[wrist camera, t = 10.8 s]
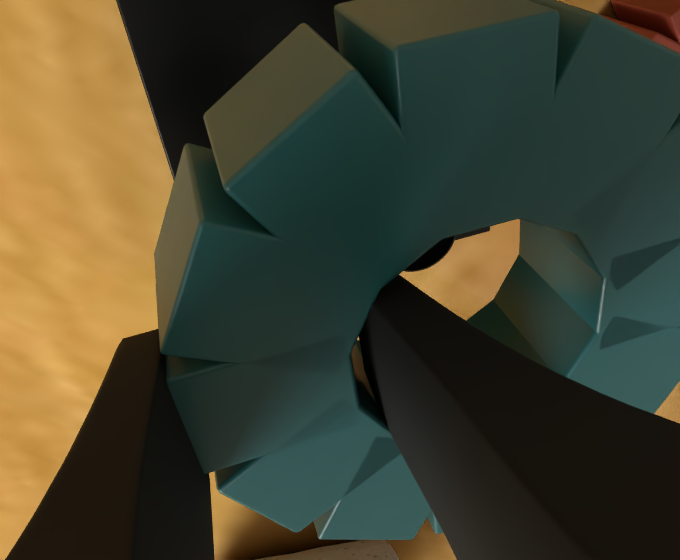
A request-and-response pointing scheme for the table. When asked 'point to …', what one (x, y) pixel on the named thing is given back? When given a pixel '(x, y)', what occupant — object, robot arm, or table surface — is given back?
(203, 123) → the peg stand
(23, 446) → the table surface
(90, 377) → the table surface
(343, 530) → the teal ring
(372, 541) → the ceramic mug
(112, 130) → the table surface
